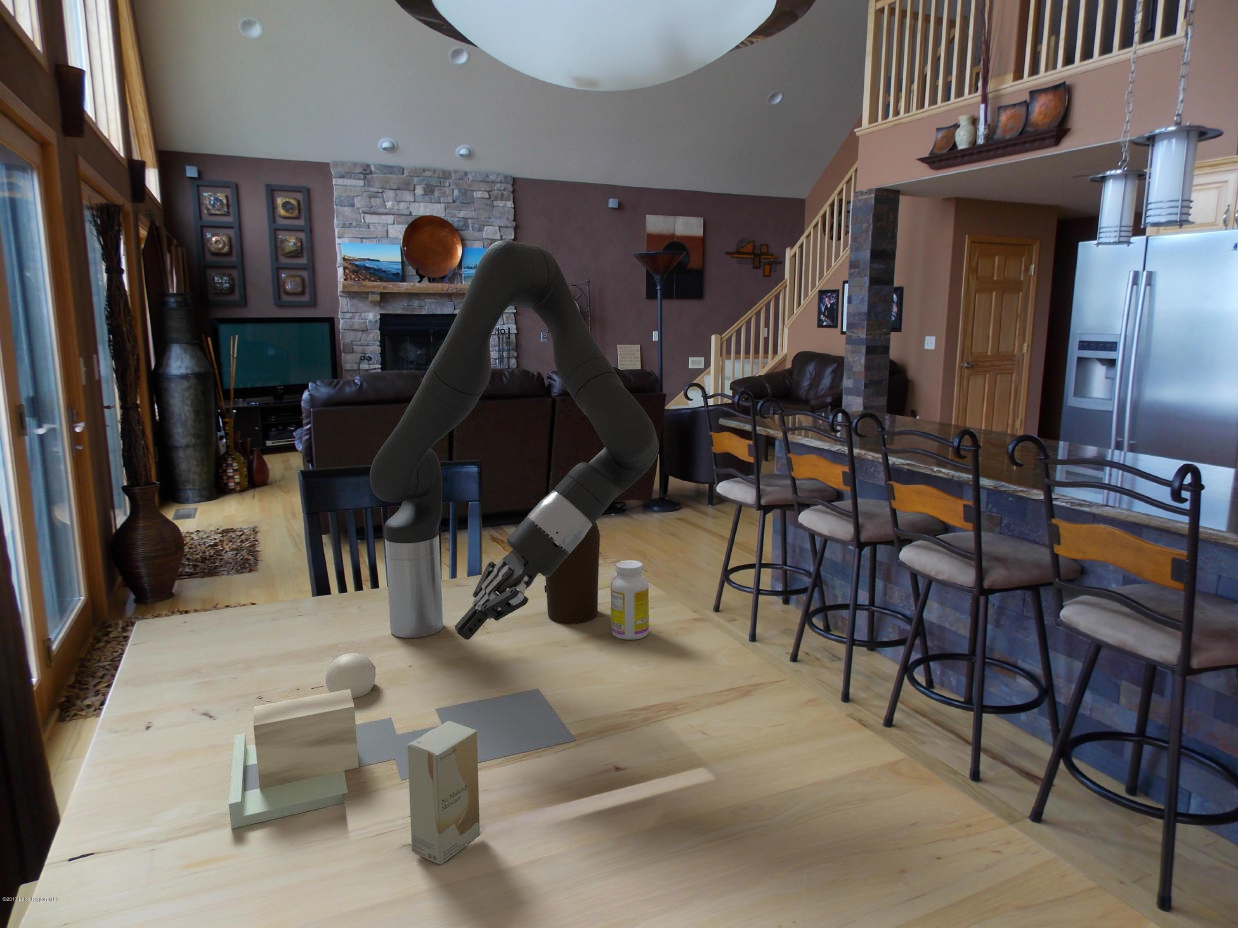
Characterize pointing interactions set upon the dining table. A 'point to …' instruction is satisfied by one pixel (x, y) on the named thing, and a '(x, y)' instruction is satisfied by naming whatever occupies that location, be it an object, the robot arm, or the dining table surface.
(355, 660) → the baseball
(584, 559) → the olive oil
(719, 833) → the dining table surface
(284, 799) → the board
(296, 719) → the birch block
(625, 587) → the supplement bottle
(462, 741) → the skincare box
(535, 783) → the dining table surface
